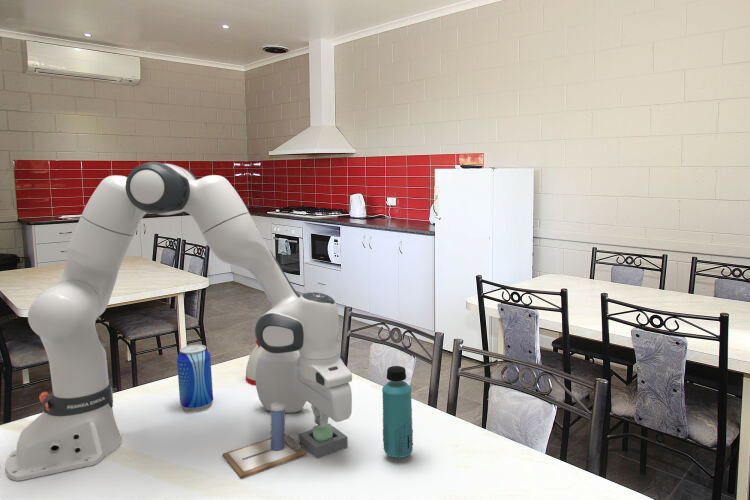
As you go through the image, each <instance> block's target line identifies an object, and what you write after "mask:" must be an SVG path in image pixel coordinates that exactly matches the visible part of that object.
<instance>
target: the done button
mask: <svg viewBox="0 0 750 500" xmlns="http://www.w3.org/2000/svg"><path fill="white" fill-rule="evenodd" d="M329 424H330V423H328V425H327V426H326V427H323V428H321V427H320V426H319V425H318V424H315V425H314V426H313V427H312V429H313V439H315V440H316V441H317V442H318V443H320V442H323V441H326V440H328V439H331V438H333V427H334V426H333V425H332V424H331V425H332V426H333V427H332V426H331V425H329Z"/></svg>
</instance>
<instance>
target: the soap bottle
mask: <svg viewBox="0 0 750 500" xmlns="http://www.w3.org/2000/svg"><path fill="white" fill-rule="evenodd" d="M298 358H299V351H293V352H286V353H270V352H268V351H266V350H264V349H263V350H262V352H261V354H260V355H259V357H258V361H257V366H256V386H255V389H256V392H257V395H258V396H257V397H258V400H259V402H260V403H261V405H262V406H263V408H264V409H266V410H267V411H268V412H271V403H273V402H277V401H281V402H284V403H285V414H293V413H294V414H296V413H298V412H300V411H301V410H302V409H303V408H304V406H305V405H306V403H307V401H306V400H305V399H303V398H302V397H300V396H299V395H298V394H296V393H295V390H294V370H295V366H296V365H297V360H298Z"/></svg>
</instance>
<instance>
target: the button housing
mask: <svg viewBox="0 0 750 500" xmlns="http://www.w3.org/2000/svg"><path fill="white" fill-rule="evenodd" d="M328 424H329V425H331V426H332V427H333V438H331V439H328V440H326V441H323V442H320V443H318V442H317V441H316V440H315V439H313V428H311V429H308V430H305V431H302V432H299V433H298V438H299V439H298V441H299V442H298V443H299V444H300V445H301V447H302V448H304V449H305V451H306V452H308V453H309V454H310V455H311V456H313V457H314V458H315V459H319V458H322V457H324V456H328V455H330V454H333V453H336V452H338V451H341V450H343V449H346V448H347V449H348V447H349V446H348V445H349V444H348V443H349V441H348V440H349V439H348V436H347V435H346V434H344V433H343V432H342V431H340V430H338V429H337V428H336V427H335V426H333V424H331V423H328Z"/></svg>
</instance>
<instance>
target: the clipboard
mask: <svg viewBox="0 0 750 500" xmlns="http://www.w3.org/2000/svg"><path fill="white" fill-rule="evenodd" d="M307 452H308V451H306V450H304V449H303V447H302V446H301V445H300V444H299V442H298V441H297V440H295V439H294V438H293V437H292V436H291V435H290V434H286V433H285V437H284V449H282V450H279V451H274V450H272V449H271V437H270V438H269V437H268V438H266V439H263V440H260V441H257V442H253V443H249V444H247V445H245V446H241V447H239V448H236V449H235V448H234V449H232V450H230V451H229V450H228V451H226V452H223V453H221V454H222V456H221V457H223V458H224V460H225V461H226V462H227V464H229V466H230V467H231V468H232V469H233V471H234V472H235V473H236V474H237V475H238V477H239V478H240V479H244V478H245V479H246V478H248V477H250V476H253V475H255V474H256V475H257V474H258V473H261V472H264V471H267V470H270V469H273V468H275V467H278V466H281V465H283V464H287V463H290V462H293V461H294V460H297V459H300V458H303V457H307V456H308V453H307Z"/></svg>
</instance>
